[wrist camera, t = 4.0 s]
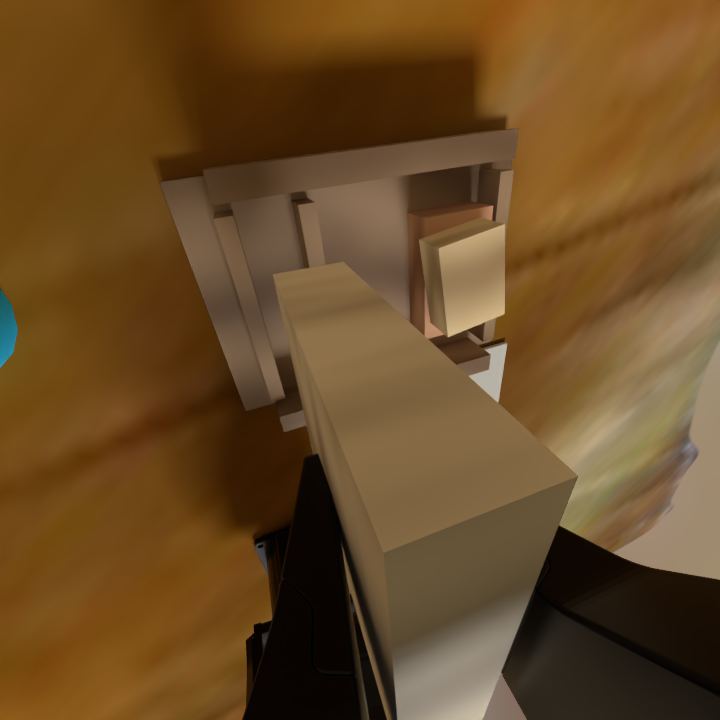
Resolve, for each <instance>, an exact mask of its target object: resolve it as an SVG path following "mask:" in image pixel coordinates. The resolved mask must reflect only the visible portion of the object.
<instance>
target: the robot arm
mask: <svg viewBox="0 0 720 720" xmlns="http://www.w3.org/2000/svg"><path fill="white" fill-rule="evenodd" d="M254 547H255V550H256V552H257V554H258V556H259V558H260V560H261V562H262V564H263V566H264V568H265V570H266V572H267V574H268V578H269V588H270V597H271V607H272V620H271V621H268V622H265V623H262V624H261V623H258V624H255V625H254V634H252V636H250V637H249V638H248V639H247V640H246V652H247V696H246V709H245V713H244V716H243V719H242V720H387V718H386V714H385V711H384V707H383V704H382V700H381V697H380V693H379V690H378V686H377V683H376V679H375V676H374V672H373V669H372V665H371V662H370V658H369V655H368V651H367V648H366V644H365V641H364V637H363V634H362V630H361V627H360V623H359V620H358V616H357V613H356V610H355V606H354V603H353V599H352V596H351V594H349V588H348V582H347V575H346V569H345V563H344V556H343V550H342V544H341V538H340V533H339V528H338V523H337V518H336V513H335V508H334V503H333V498H332V494H331V490H330V487H329V484H328V481H327V478H326V475H325V472H324V469H323V466H322V463H321V460H320V457H319V454H318V453H316V454H313V455H310V456H307V457H305V459H304V462H303V467H302V473H301V478H300V483H299V488H298V493H297V498H296V503H295V508H294V514H293V519H292V524H291V527H289V528H287V529H284V530H281V531H278V532H276V533H273V534H270V535H268V536H265V537H262V538H259V539H257V540H256V541H255V542H254ZM501 673H503V677H504V679H505V681H506V683H507V684H508V686H509V688H510V690H511V692H512V693H513V695H514V697H515V699H516V701H517V702H518V704H519V706H520V708H521V709H522V711H523V713H524V715H525V717H526V719H527V720H720V580H718V579H712V578H707V577H701V576H694V575H688V574H683V573H677V572H672V571H666V570H660V569H654V568H650V567H647V566H643V565H640V564H637V563H634V562H631V561H629V560H627V559H624V558H622V557H620V556H618V555H615V554H613V553H611V552H609V551H608V550H606V549H604V548H602V547H600V546H598V545H596V544H594V543H592V542H590V541H588V540H586V539H584V538H582V537H580V536H578V535H576V534H575V533H573V532H571V531H569V530H567V529H565V528H563V527H561V526H558V528H557V531H556V534H555V536H554V539H553V541H552V544H551V546H550V549H549V551H548V554H547V556H546V559H545V562H544V564H543V567H542V569H541V572H540V574H539V577H538V579H537V582H536V584H535V587H534V590H533V592H532V595H531V597H530V600H529V602H528V605H527V607H526V610H525V612H524V615H523V617H522V620H521V623H520V625H519V628H518V630H517V633H516V635H515V638H514V640H513V643H512V645H511V648H510V651H509V653H508V656H507V658H506V661H505V663H504V666H503V668H502V671H501Z"/></svg>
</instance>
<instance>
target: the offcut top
mask: <svg viewBox="0 0 720 720" xmlns="http://www.w3.org/2000/svg"><path fill="white" fill-rule="evenodd" d="M419 245H420V252H421V259H422V266H423V274H424V281H425V288H426V295H427V303H428V310H429V317H430V323H431V324H432V325H434V326H435V327H436V328H437V329H439V330H440V331H441V332H442V333H443V334H445V335H446V336H447V337H450V336H452V335H455V334H457V333H460V332H462V331H465V330H467V329H469V328H472V327H474V326H477V325H479V324H482V323H484V322H487V321H489V320H491V319H494V318H496V317H499V316H501V315H504V314H505V224H503V223H499V222H495V221H491V220H487V219H483V218H477V219H475V220H472V221H469V222H466V223H464V224H461V225H458V226H455V227H452V228H450V229H447V230H444V231H441V232H439V233H436V234H433V235H430V236H428V237H425V238H422V239H419Z"/></svg>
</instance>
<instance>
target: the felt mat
mask: <svg viewBox="0 0 720 720" xmlns="http://www.w3.org/2000/svg"><path fill="white" fill-rule="evenodd" d="M506 348H507V343H506V342H502V343H498V344H495V345H491V346H488V347H484V348H483V349H484V350H485V351H487V352H488V353H489V354H491V357H490V365H489V370H486V371H483V372H480V373H476V374H473V375H470V376H469V377H470V378H471V379H472V380H473V381H474V382H476V383H477V384H478V385H479V386H480V387H481V388H482V389H483V390H484V391H485V392H487V393H488V394H489V395H490V396H491V397H492V398H493V399H494V400H495V401H496V402H498V401H499V395H500V388H501V382H502V375H503V368H504V362H505V355H506Z"/></svg>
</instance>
